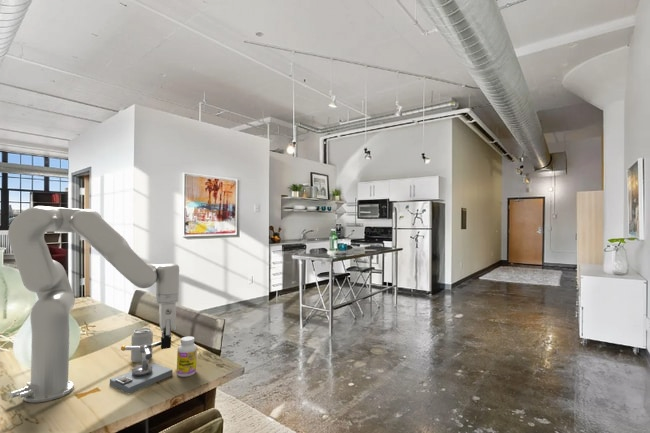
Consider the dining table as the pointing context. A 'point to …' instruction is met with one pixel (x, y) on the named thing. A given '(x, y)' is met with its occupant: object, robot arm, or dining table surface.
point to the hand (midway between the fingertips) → (165, 347)
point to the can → (140, 342)
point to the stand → (140, 379)
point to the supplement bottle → (186, 357)
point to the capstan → (146, 355)
